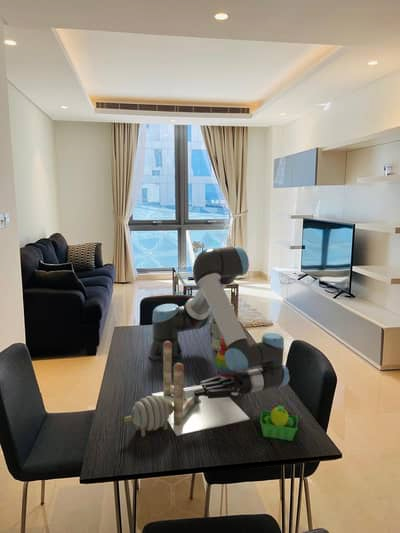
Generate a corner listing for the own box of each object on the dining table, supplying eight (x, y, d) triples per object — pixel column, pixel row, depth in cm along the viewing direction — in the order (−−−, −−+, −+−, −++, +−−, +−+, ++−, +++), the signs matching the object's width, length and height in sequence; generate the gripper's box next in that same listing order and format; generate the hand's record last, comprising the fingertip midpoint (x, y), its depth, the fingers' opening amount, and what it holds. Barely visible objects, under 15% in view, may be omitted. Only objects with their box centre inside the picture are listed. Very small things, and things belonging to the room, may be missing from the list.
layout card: (151, 394, 154) (151, 393, 154) (215, 383, 164) (215, 382, 163) (176, 435, 128) (176, 434, 128) (249, 419, 138) (249, 418, 138)
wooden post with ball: (161, 396, 153) (161, 341, 149) (165, 392, 156) (165, 338, 152) (196, 405, 147) (197, 348, 143) (200, 400, 150) (201, 345, 146)
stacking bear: (238, 384, 163) (239, 341, 159) (213, 381, 165) (214, 339, 161) (241, 372, 173) (242, 332, 170) (217, 370, 175) (218, 330, 172)
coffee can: (218, 341, 208) (219, 315, 205) (236, 346, 202) (237, 318, 200) (207, 348, 199) (208, 320, 196) (226, 353, 194) (227, 324, 191)
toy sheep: (181, 429, 132) (181, 397, 130) (133, 447, 122) (133, 413, 120) (164, 414, 140) (164, 384, 138) (118, 430, 131) (117, 398, 128)
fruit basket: (296, 429, 133) (298, 397, 131) (296, 446, 124) (298, 412, 122) (261, 424, 135) (262, 393, 133) (258, 440, 127) (260, 407, 125)
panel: (188, 402, 147) (188, 348, 143) (196, 403, 146) (197, 350, 142) (171, 422, 134) (171, 364, 130) (180, 424, 133) (181, 366, 129)
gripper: (256, 400, 137) (191, 414, 128) (237, 383, 149) (176, 395, 140) (257, 379, 136) (191, 392, 127) (238, 364, 148) (176, 374, 139)
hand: (183, 393), depth 133 cm, fingers closed
